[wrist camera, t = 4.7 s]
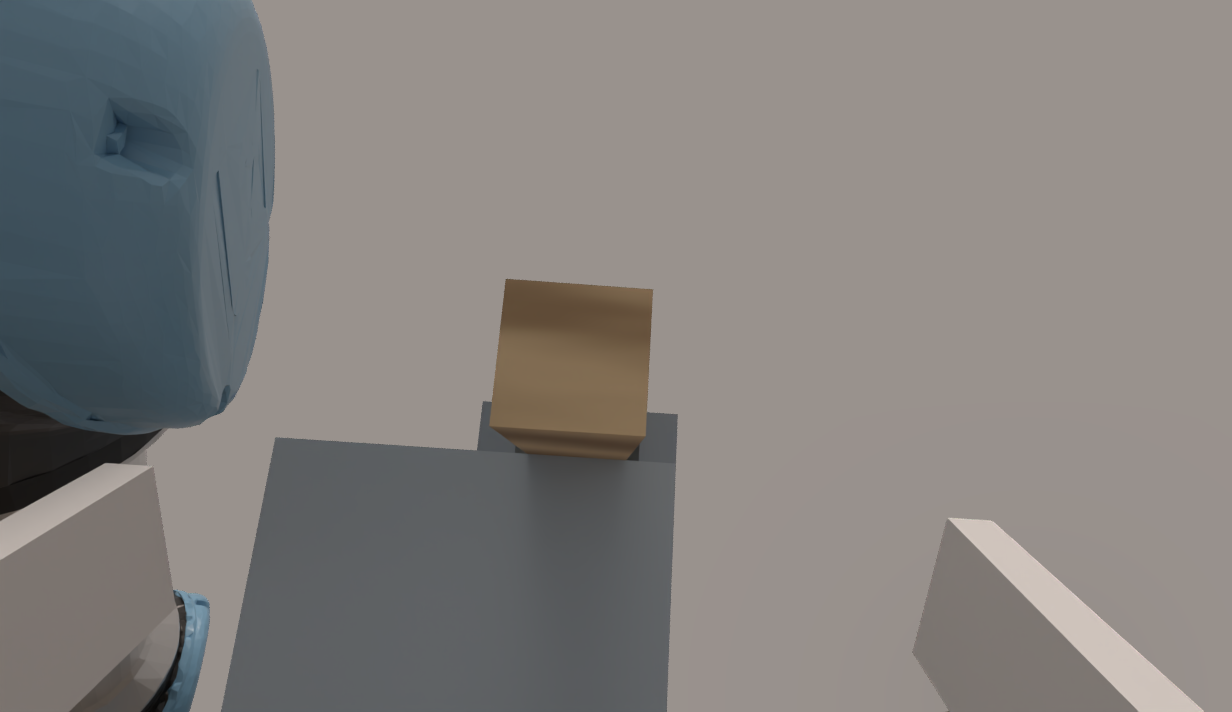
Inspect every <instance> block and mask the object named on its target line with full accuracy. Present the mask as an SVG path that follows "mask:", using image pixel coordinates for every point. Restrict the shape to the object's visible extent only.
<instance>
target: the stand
mask: <svg viewBox="0 0 1232 712" xmlns="http://www.w3.org/2000/svg"><path fill="white" fill-rule="evenodd" d="M491 406H492V402H483V405H482V414H481V422H480V431H479V439H478V448H477V451H474V450H459V449H445V448H444V449H443V448H429V447H413V446H398V445H383V444H367V443H353V442H338V441H337V442H336V441H321V440H306V439H292V438H275V443H274V448H273V453H272V458H271V463H270V468H269V473H268V478H267V483H266V488H265V493H264V498H263V503H262V508H261V513H260V518H259V523H258V528H257V533H256V539H255V544H254V549H253V554H252V559H251V564H250V569H249V574H248V579H247V584H246V589H245V594H244V599H243V604H242V609H241V614H240V620H239V625H238V630H237V634H236V639H235V645H234V649H233V655H232V659H231V665H230V669H229V675H228V679H227V685H226V690H225V695H224V700H223V705H222V710H221V712H667V687H668V686H667V685H668V684H667V683H668V657H669V633H670V605H671V577H672V552H673V525H674V498H675V497H674V496H675V471H676V443H677V417H678V416H677V414H664V413H649V412H647V418H646V437H645V438H644V439H643V440H642V441H641V443H640V444H639V445H638V446H637V448H636V449H635V450H634V451H633V453H632V454H631V455H630V456H629V457H628V459H627V460H613V459H598V458H583V457H567V456H552V455H537V454H526V453H525V452H524V451H522V450H521V449H520V448H518V447H517V446H516V445H514V444H513V443H511V442H510V441H509V440H507V439H506V438H505V437H503V436H502V435H501V434H499V433H498V432H497V431H495V430H494V429H492V428H491V427H490V426H489V424H490V415H491Z"/></svg>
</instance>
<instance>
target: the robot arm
mask: <svg viewBox="0 0 1232 712" xmlns="http://www.w3.org/2000/svg"><path fill="white" fill-rule="evenodd" d="M273 107H274V106H273V93H272V82H271V74H270V65H269V59H268V53H267V47H266V43H265V40H264V35H263V31H262V27H261V24H260V21H259V18H258V15H257V13H256V11H255V8H254V5H253V3H252V1H251V0H0V712H189V711H190V708H191V705H192V701H193V698H194V694H195V690H196V686H197V683H198V678H199V674H200V670H201V666H202V662H203V657H204V652H205V646H206V641H207V636H208V629H209V622H210V615H209V613H210V610H209V608H210V607H209V602H208V600H207V598H206V597H204V596H203V595H200V594H196V593H186V592H185V591H178V590H173V587H172V581H171V574H170V568H169V562H168V556H167V549H166V543H165V537H164V531H163V524H162V518H161V512H160V506H159V499H158V493H157V488H156V481H155V474H154V468H153V466H147V463H146V449H147V448H149V447H150V446H151V445H152V444H153V443H155V442H156V441H157V440H158V439H159V438H160V437H161V436H162V434H163V433H164V432H165V431H166V430H167V429H168V428H186V427H191V426H196V425H200V424H201V423H202V422H203V421H205V420H206V419H208V418H209V417H211V416H214V415H217V414H220V413H222V412H223V411H224V410H225V408H226V407H227V405H228V404H229V403H230V402H231V401H232V400H233V399H234V397H235V395H236V393H237V391H238V390H239V387H240V385H241V383H242V381H243V378H244V376H245V374H246V370H247V366H248V364H249V361H250V358H251V355H252V351H253V347H254V343H255V339H256V334H257V329H258V322H259V317H260V312H261V308H262V303H263V297H264V291H265V283H266V275H267V267H268V252H269V251H268V249H269V224H268V222H269V219H270V214H271V211H272V206H273V195H274V168H275V166H274V165H275V164H274V163H275V136H274V108H273ZM913 654H914V656H915V657H916V659H917V660H918V662H919V664H920V665H921V667H922V668H923V670H924V672H925V673H926V675H927V676H928V678H929V679H930V681H931V683H932V684H933V686H934V687H935V689H936V691H937V692H938V694H939V695H940V697H941V698H942V700H943V702H944V703H945V705H946V706H947V708H948V710H949V711H950V712H1204V711H1203V710H1202V709H1201V708H1200V707H1199V706H1198V705H1197V704H1195V703H1194V702H1193V701H1192V700H1191V699H1190V698H1189V697H1188V696H1187V695H1185V694H1184V693H1183V692H1182V691H1181V690H1180V689H1179V688H1178V687H1176V686H1175V685H1174V684H1173V683H1172V682H1171V681H1170V680H1169V679H1168V678H1167V677H1165V676H1164V675H1163V674H1162V673H1161V672H1160V671H1159V670H1158V669H1157V668H1155V667H1154V666H1153V665H1152V664H1151V663H1150V662H1149V661H1148V660H1147V659H1145V658H1144V657H1143V656H1142V655H1141V654H1140V653H1139V652H1138V651H1137V650H1135V649H1134V648H1133V647H1132V646H1131V645H1130V644H1129V643H1128V642H1127V641H1125V640H1124V639H1123V638H1122V637H1121V636H1120V635H1119V634H1118V633H1116V632H1115V631H1114V630H1113V629H1112V628H1111V627H1110V626H1109V625H1108V624H1107V623H1105V622H1104V621H1103V620H1102V619H1101V618H1100V617H1099V616H1098V615H1097V614H1095V613H1094V612H1093V611H1092V610H1091V609H1090V608H1089V607H1088V606H1087V605H1085V604H1084V603H1083V602H1082V601H1081V600H1080V599H1078V597H1077V596H1075V595H1074V594H1073V593H1072V592H1071V591H1070V590H1069V589H1068V588H1067V587H1065V586H1064V585H1063V584H1062V583H1061V582H1060V581H1059V580H1058V579H1057V578H1055V577H1054V576H1053V575H1052V574H1051V573H1050V572H1049V571H1048V570H1047V569H1045V568H1044V567H1043V566H1042V565H1041V564H1040V563H1039V562H1038V561H1037V560H1035V559H1034V558H1033V557H1032V556H1031V555H1030V554H1029V553H1028V552H1026V551H1025V550H1024V549H1023V548H1022V547H1021V546H1020V545H1019V544H1018V543H1017V542H1015V541H1014V540H1013V539H1012V538H1011V537H1010V536H1009V535H1007V534H1006V533H1005V532H1004V531H1003V530H1002V529H1001V528H1000V527H999V526H998V525H997V524H995V523H994V522H993V521H990V520H975V519H959V518H958V519H957V518H947V521H946V525H945V529H944V532H943V537H942V540H941V544H940V548H939V552H938V556H937V559H936V563H935V567H934V571H933V575H932V579H931V583H930V587H929V590H928V594H927V598H926V602H925V606H924V610H923V613H922V618H921V621H920V625H919V629H918V633H917V637H916V641H915V644H914V648H913Z"/></svg>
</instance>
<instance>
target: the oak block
mask: <svg viewBox="0 0 1232 712" xmlns="http://www.w3.org/2000/svg"><path fill="white" fill-rule="evenodd" d="M652 296H653V290H652V289H638V288H624V287H611V286H597V285H583V284H570V283H555V282H542V281H527V280H513V279H506V283H505V291H504V300H503V309H502V318H501V326H500V335H499V345H498V353H497V362H496V371H495V379H494V388H493V397H492V406H491V415H490V424H489V426H490V427H491V428H492V429H494V430H495V431H497V432H498V433H499V434H501V435H502V436H503V437H505V438H506V439H507V440H509V441H510V442H511V443H513V444H514V445H516V446H517V447H518V448H520V449H521V450H522V451H524V452H525V453H526V454H537V455H552V456H567V457H583V458H598V459H613V460H627V459H628V457H629V456H630V455H631V454H632V453H633V451H634V450H635V449H636V448H637V446H638V445H639V444H640V443H641V441H642V440H643V439H644V438H645V437H646V418H647V398H648V377H649V356H650V337H651V317H652V316H651V315H652Z"/></svg>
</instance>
